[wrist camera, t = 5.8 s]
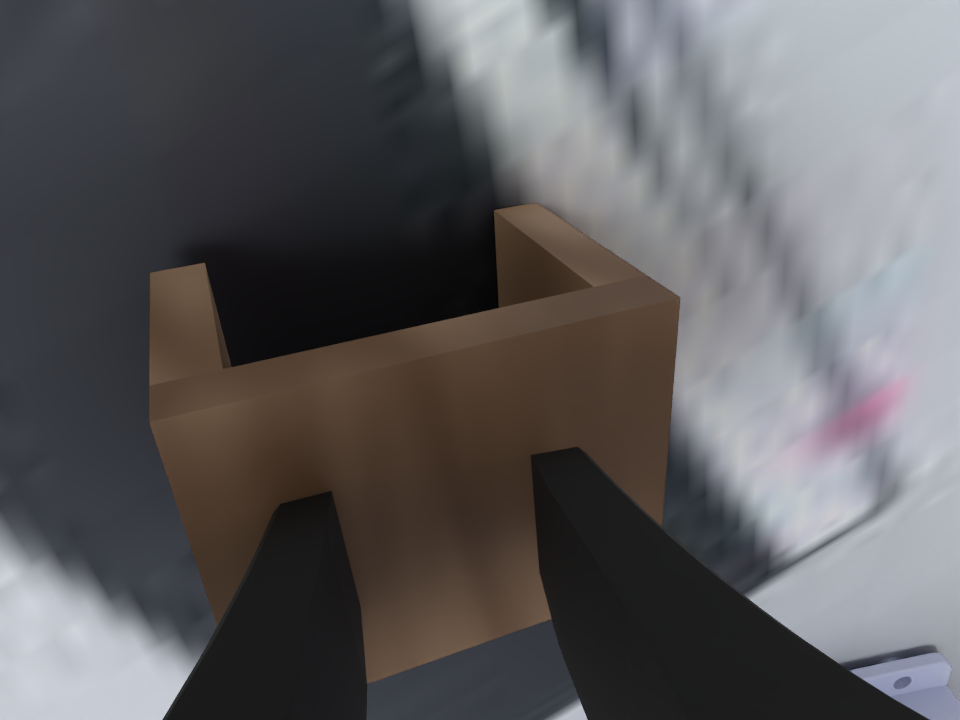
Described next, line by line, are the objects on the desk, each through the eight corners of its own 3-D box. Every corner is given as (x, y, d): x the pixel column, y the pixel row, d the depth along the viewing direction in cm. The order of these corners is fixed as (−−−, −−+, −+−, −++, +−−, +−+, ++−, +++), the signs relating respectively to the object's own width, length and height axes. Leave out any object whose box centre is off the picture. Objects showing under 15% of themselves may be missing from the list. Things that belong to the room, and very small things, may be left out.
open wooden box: (680, 297, 10) (148, 422, 8) (658, 580, 12) (250, 725, 10) (536, 202, 13) (150, 272, 11) (541, 436, 16) (224, 524, 14)
